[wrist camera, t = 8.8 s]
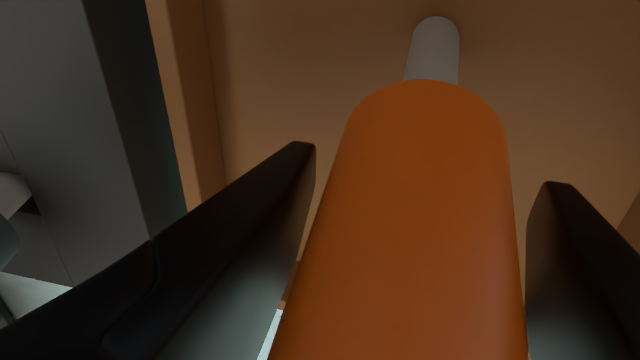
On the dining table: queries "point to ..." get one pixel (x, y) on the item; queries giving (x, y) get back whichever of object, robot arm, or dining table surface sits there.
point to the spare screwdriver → (10, 213)
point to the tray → (389, 67)
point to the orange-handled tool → (412, 228)
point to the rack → (84, 135)
